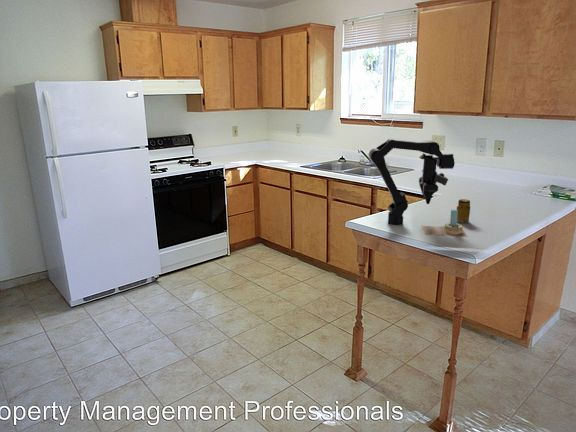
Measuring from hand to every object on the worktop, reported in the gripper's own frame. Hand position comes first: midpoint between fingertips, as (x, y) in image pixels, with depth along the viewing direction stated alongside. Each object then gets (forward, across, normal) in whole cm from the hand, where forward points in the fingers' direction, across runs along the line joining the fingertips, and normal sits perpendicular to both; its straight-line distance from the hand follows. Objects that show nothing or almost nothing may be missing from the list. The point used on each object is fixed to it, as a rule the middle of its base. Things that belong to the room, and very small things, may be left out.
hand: (426, 201), depth 202 cm
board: (+12, -10, -7) cm, 17 cm away
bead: (+11, -11, -11) cm, 19 cm away
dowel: (+11, -11, -11) cm, 19 cm away
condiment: (+12, +5, -19) cm, 23 cm away
